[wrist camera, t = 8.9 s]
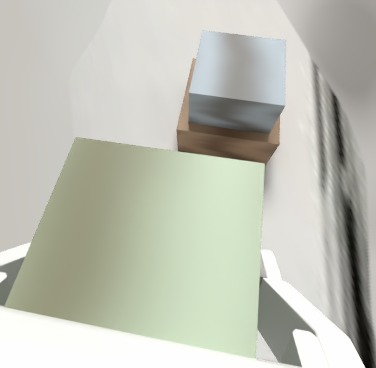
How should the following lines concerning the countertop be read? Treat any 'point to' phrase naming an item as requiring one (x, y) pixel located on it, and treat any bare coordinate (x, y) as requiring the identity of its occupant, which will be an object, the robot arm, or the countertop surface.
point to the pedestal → (234, 97)
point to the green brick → (150, 246)
